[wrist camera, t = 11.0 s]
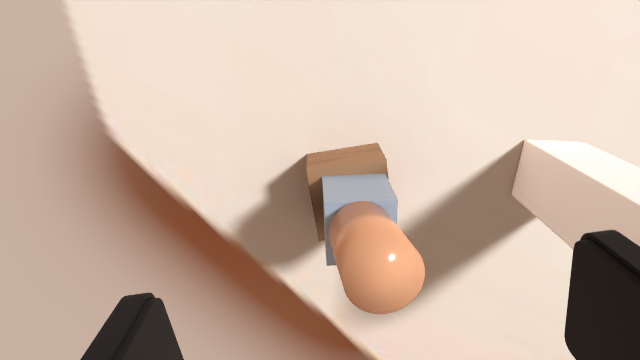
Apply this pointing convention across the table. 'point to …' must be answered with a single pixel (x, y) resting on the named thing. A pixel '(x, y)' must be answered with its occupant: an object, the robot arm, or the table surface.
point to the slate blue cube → (354, 198)
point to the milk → (578, 189)
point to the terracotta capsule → (375, 258)
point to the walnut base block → (340, 171)
